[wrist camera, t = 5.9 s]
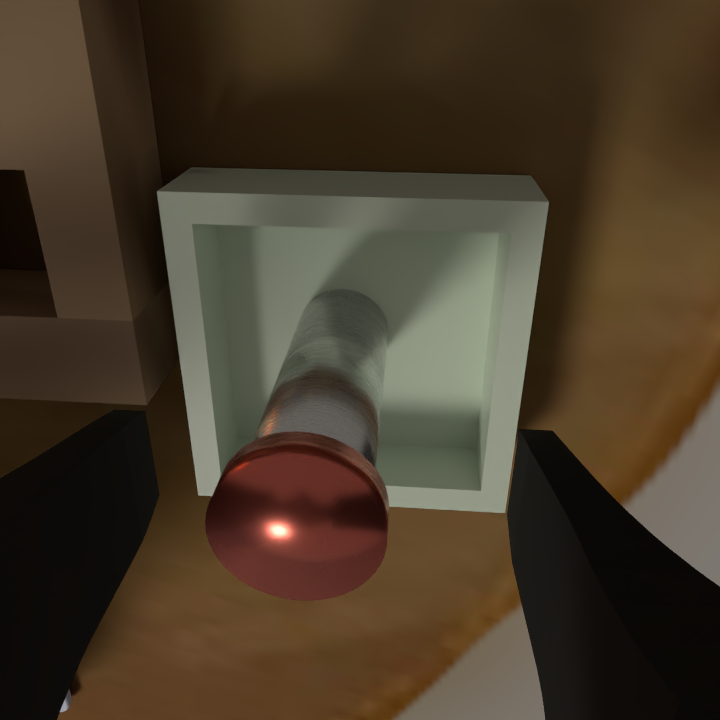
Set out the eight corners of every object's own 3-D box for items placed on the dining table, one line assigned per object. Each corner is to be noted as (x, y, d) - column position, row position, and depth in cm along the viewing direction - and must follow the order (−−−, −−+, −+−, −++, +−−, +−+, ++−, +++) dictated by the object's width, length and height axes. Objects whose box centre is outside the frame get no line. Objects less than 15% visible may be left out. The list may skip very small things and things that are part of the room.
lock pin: (399, 380, 18) (387, 604, 11) (291, 378, 19) (217, 596, 12) (399, 278, 17) (387, 464, 10) (284, 277, 17) (193, 457, 10)
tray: (495, 457, 20) (505, 512, 18) (222, 443, 20) (197, 495, 18) (531, 175, 16) (549, 201, 14) (191, 167, 17) (156, 191, 14)
